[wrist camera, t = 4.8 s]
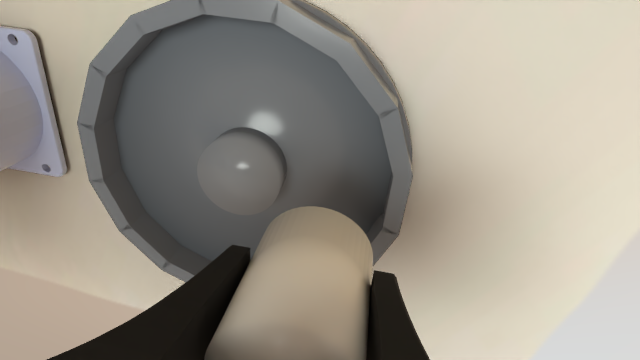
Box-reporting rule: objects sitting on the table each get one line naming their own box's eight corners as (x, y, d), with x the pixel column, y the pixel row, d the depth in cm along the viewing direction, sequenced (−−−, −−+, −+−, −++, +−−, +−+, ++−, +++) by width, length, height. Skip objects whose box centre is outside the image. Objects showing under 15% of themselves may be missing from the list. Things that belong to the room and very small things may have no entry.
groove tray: (130, 250, 25) (106, 276, 23) (84, -33, 18) (40, -35, 15) (380, 298, 24) (379, 331, 21) (447, 10, 16) (456, 15, 14)
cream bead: (259, 284, 15) (205, 411, 11) (264, 196, 13) (202, 305, 9) (361, 306, 15) (349, 446, 10) (383, 219, 13) (378, 344, 9)
